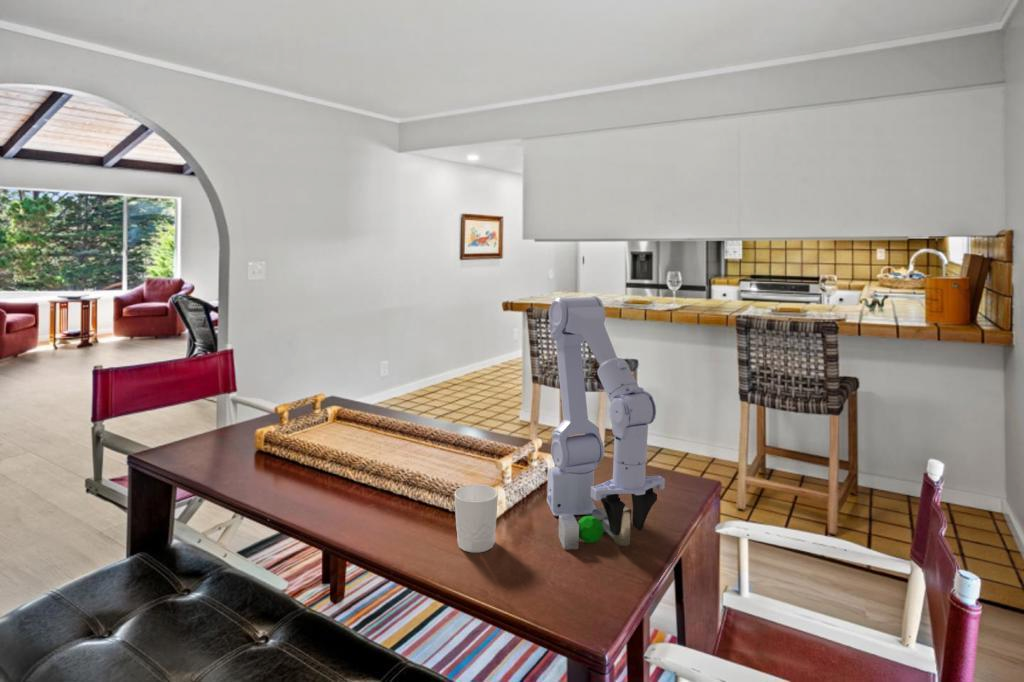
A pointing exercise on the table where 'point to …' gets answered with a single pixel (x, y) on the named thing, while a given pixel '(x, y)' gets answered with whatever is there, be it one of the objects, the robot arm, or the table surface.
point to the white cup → (476, 517)
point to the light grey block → (568, 531)
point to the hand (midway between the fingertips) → (626, 530)
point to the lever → (624, 535)
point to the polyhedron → (590, 529)
